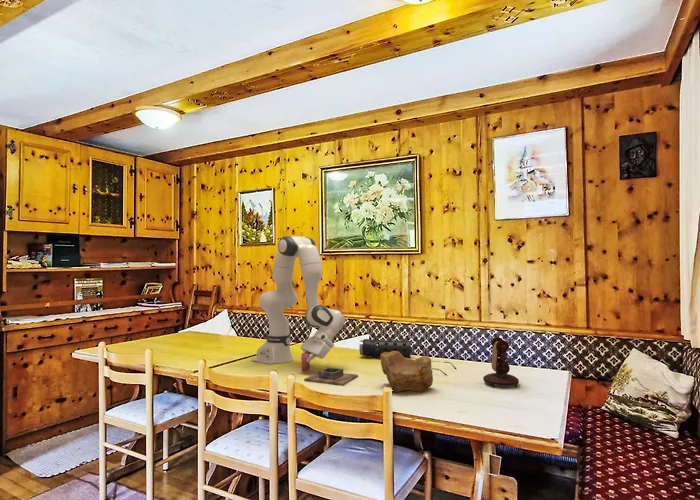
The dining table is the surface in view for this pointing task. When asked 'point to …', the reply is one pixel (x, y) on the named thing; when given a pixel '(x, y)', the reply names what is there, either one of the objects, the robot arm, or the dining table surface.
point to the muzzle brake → (384, 347)
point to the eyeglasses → (444, 362)
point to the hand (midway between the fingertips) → (304, 360)
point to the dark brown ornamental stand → (500, 365)
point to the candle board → (331, 377)
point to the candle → (305, 364)
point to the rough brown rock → (407, 372)
